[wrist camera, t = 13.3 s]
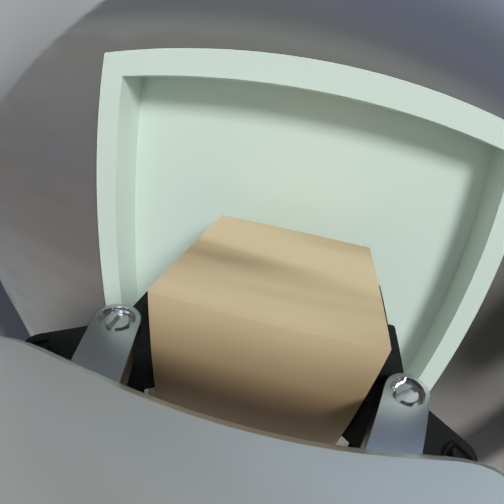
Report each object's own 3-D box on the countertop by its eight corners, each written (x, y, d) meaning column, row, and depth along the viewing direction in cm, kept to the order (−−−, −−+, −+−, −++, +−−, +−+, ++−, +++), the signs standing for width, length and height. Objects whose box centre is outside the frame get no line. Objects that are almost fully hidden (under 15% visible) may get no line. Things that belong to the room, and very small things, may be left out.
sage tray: (390, 406, 16) (393, 438, 14) (136, 343, 19) (116, 368, 17) (506, 131, 9) (537, 137, 7) (138, 58, 12) (104, 52, 9)
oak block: (330, 359, 12) (319, 466, 8) (210, 330, 13) (159, 423, 9) (369, 247, 10) (391, 349, 6) (221, 215, 11) (147, 289, 6)
